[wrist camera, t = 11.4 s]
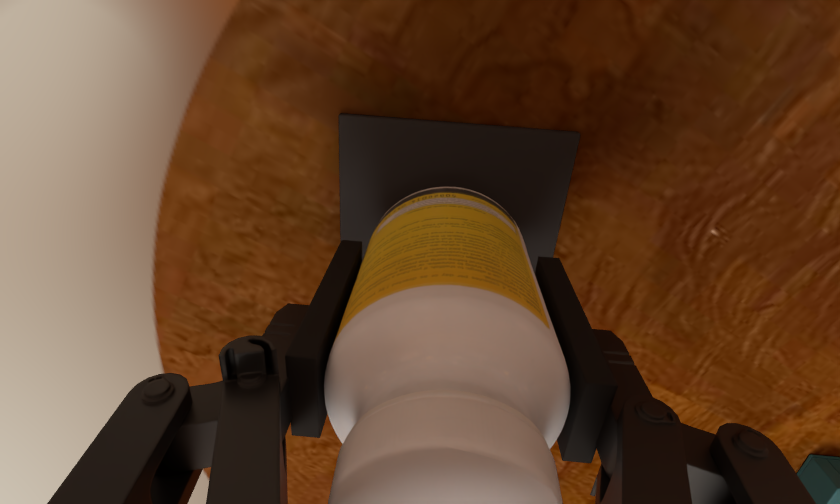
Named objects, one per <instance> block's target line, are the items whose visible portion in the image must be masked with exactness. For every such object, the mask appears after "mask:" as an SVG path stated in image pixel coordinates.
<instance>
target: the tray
mask: <svg viewBox="0 0 840 504" xmlns="http://www.w3.org/2000/svg"><path fill="white" fill-rule="evenodd" d="M797 476H798V477H799V479H800V480H801V482H802V483H803V485H804V486H805V488H806V489H807V491H808V492H809V494H810V495H811V497H812V498H813V500H814V501H815V503H816V504H840V457H833V456H822V455H811V454H810V455H809V456H808V458H807V459H806V461H805V462H804V464H803V465H802V467H801V468H800V470H799V471H798V473H797Z"/></svg>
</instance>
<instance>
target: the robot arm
mask: <svg viewBox="0 0 840 504" xmlns="http://www.w3.org/2000/svg"><path fill="white" fill-rule="evenodd" d="M361 264H362V241H350V240H342V241H341V243H340V245H339V247H338V249H337V251H336V253H335V255H334V257H333V259H332V261H331V263H330V265H329V267H328V269H327V271H326V273H325V275H324V277H323V279H322V281H321V283H320V285H319V287H318V289H317V291H316V293H315V295H314V297H313V299H312V302H311V304H310V305H299V304H287V305H286V306H284V307H283V308H282V309H280V310H279V311H277V312H276V314H275V315H274V317H273V319H272V320H271V322H270V325H268V327H267V329H266V331H265V334H263V336H246V337H241V338H238V339H236V340H234V341H231V342H229V343H228V344H227V345H226V346H225V347H223V348H222V350H221V352H220V354H219V360H220V366H221V372H222V378H223V381H220V382H216V383H212V384H205V385H198V386H191V387H189V384H188V381H187V379H186V378H185V377H183V376H182V375H179V374H174V373H166V374H158V375H156V376H152V377H149V378H147V379H145V380H143V381H142V382H140V383H138V384H137V385H136V386H135V387H134V388H133V389H132V390H131V391H130V392H129V393H128V394H127V396H126V397H125V398H124V400H123V401H122V402H121V404H120V405H119V407H118V408H117V410H116V411H115V412H114V414H113V415H112V416H111V417H110V419H109V420H108V422H107V423H106V424H105V426H104V427H103V428H102V430H101V431H100V432H99V434H98V435H97V437H96V438H95V439H94V441H93V442H92V444H91V445H90V446H89V448H88V449H87V450H86V452H85V453H84V454H83V456H82V457H81V458H80V460H79V461H78V463H77V464H76V465H75V467H74V468H73V469H72V471H71V472H70V473H69V475H68V476H67V478H66V479H65V480H64V482H63V483H62V484H61V486H60V487H59V488H58V490H57V491H56V493H55V494H54V495H53V497H52V498H51V499H50V501H49V502H48V503H47V504H187V503H188V501H189V499H190V497H191V494H192V492H193V490H194V487H195V485H196V483H197V481H198V479H199V476H200V474H201V472H202V469H203V468H207V467H211V473H210V480H209V488H208V494H207V502H206V504H288V501H287V460H286V439H285V435H286V432H287V430H288V427H289V425H290V422H291V431H292V435H296V436H307V437H317V438H320V436H321V432H322V429H323V426H324V423H325V419H326V416H327V409H326V405H325V397H324V378H325V371H326V366H327V362H328V357H329V354H330V351H331V348H332V345H333V343H334V340H335V338H336V335H337V332H338V329H339V326H340V323H341V320H342V317H343V314H344V312H345V309H346V306H347V303H348V300H349V297H350V295H351V292H352V289H353V286H354V283H355V281H356V278H357V275H358V272H359V269H360V267H361ZM535 277H536V279H537V282H538V285H539V288H540V291H541V294H542V296H543V299H544V302H545V305H546V308H547V311H548V314H549V316H550V319H551V322H552V325H553V328H554V330H555V333H556V336H557V339H558V342H559V344H560V347H561V350H562V353H563V355H564V358H565V361H566V365H567V368H568V372H569V379H570V386H571V387H570V406H569V410H568V415H567V418H566V421H565V424H564V426H563V429H562V431H561V433H560V435H559V436H558V438H557V441H558V445H559V449H560V453H561V456H562V460H563V461H573V462H583V463H591V462H592V459H593V457H594V454H595V451H596V448H597V451H598V454H599V456H600V459H601V462H602V464H601V466H600V469H599V472H598V475H597V477H596V480H595V483H594V486H593V488H592V491H591V494H590V495H592V496H595V494H596V503H595V504H816V503H815V501H814V500H813V498H812V497H811V495H810V494H809V492H808V491H807V489H806V488H805V486H804V485H803V483H802V482H801V480H800V479H799V477H798V476H797V474H796V473H795V471H794V470H793V468H792V467H791V465H790V464H789V462H788V461H787V459H786V458H785V456H784V455H783V453H782V452H781V450H780V449H779V448H778V447H777V446H776V445H775V444H774V443H773V441H771V440H770V439H769V438H767V437H766V436H765V435H763V434H762V433H760V432H758V431H756V430H754V429H752V428H750V427H748V426H744V425H740V424H737V423H726V424H724V425H722V426H720V427H719V429H718V431H717V433H716V435H715V434H712V433H709V432H706V431H703V430H700V429H697V428H694V427H691V426H688V425H686V424H683V423H681V422H680V420H679V418H678V415H677V414H676V413H675V412H674V411H673V410H672V409H671V408H670V407H669V406H667V405H666V404H665V403H663V402H662V401H660V400H657V399H655V398H653V397H652V395H651V393H650V391H649V389H648V387H647V386H646V384H645V382H644V380H643V378H642V376H641V375H640V373H639V371H638V369H637V367H636V365H634V362H633V360H632V358H631V356H629V352H628V351H627V349H626V347H625V345H624V343H623V341H621V340H620V339H619V338H618V337H617V336H616V335H615V334H614V333H612V332H611V331H608V330H597V329H592V328H591V326H590V324H589V322H588V319H587V317H586V315H585V313H584V311H583V309H582V307H581V304H580V302H579V300H578V298H577V296H576V294H575V291H574V289H573V287H572V285H571V283H570V281H569V279H568V276H567V274H566V272H565V270H564V268H563V266H562V263H561V261H560V259H559V258H552V257H540V256H538V260H537V265H536V270H535Z"/></svg>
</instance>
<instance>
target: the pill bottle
mask: <svg viewBox="0 0 840 504" xmlns="http://www.w3.org/2000/svg"><path fill="white" fill-rule="evenodd" d="M570 387H571V386H570V379H569V372H568V368H567V365H566V361H565V358H564V355H563V353H562V350H561V347H560V344H559V342H558V339H557V336H556V333H555V330H554V328H553V325H552V322H551V319H550V316H549V314H548V311H547V308H546V305H545V302H544V299H543V296H542V294H541V291H540V288H539V285H538V282H537V279H536V277H535V274H534V271H533V268H532V265H531V262H530V259H529V256H528V253H527V249H526V246H525V243H524V240H523V237H522V235H521V232H520V230H519V228H518V226H517V225H516V223H515V221H514V220H513V219H512V217H511V216H510V215H509V214H508V213H507V211H506V210H505V209H503V208H502V207H501V206H500V205H499V204H498V203H496V202H495V201H493V200H492V199H490V198H489V197H487V196H485V195H483V194H481V193H478V192H475V191H472V190H469V189H464V188H459V187H435V188H429V189H425V190H422V191H418V192H416V193H413V194H411V195H409V196H407V197H405V198H404V199H402V200H400V201H399V202H398V203H396V204H395V205H394V206H392V207H391V208H390V209H389V210H388V211H387V212H386V213H385V215H384V216H383V217H382V218H381V220H380V221H379V223H378V224H377V226H376V228H375V230H374V232H373V234H372V237H371V239H370V241H369V244H368V247H367V250H366V253H365V256H364V258H363V261H362V264H361V267H360V269H359V272H358V275H357V278H356V281H355V283H354V286H353V289H352V292H351V295H350V297H349V300H348V303H347V306H346V309H345V312H344V314H343V317H342V320H341V323H340V326H339V329H338V332H337V335H336V338H335V340H334V343H333V345H332V348H331V351H330V354H329V357H328V362H327V366H326V371H325V378H324V397H325V405H326V409H327V413H328V416H329V419H330V422H331V424H332V426H333V428H334V430H335V432H336V434H337V436H338V438H339V439H340V441H341V442H342V444H343V445H342V446H341V449H340V452H339V455H338V460H337V464H336V469H335V473H334V478H333V483H332V487H331V492H330V496H329V501H328V504H563V502H562V497H561V492H560V487H559V481H558V475H557V469H556V465H555V461H554V458H553V455H552V453H551V451H550V448H551V447H552V446H553V444H554V443H555V441H556V440H557V438H558V436H559V435H560V433H561V431H562V429H563V426H564V424H565V421H566V418H567V415H568V410H569V406H570Z"/></svg>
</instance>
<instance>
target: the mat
mask: <svg viewBox="0 0 840 504" xmlns="http://www.w3.org/2000/svg"><path fill="white" fill-rule="evenodd" d="M579 139H580V133H579V132H573V131H560V130H547V129H535V128H522V127H509V126H497V125H484V124H471V123H458V122H446V121H433V120H420V119H407V118H395V117H382V116H369V115H357V114H344V113H341V114H339V171H340V235H341V241H342V240H350V241H362V261H363V258H364V256H365V253H366V250H367V247H368V244H369V241H370V239H371V237H372V234H373V232H374V230H375V228H376V226H377V224H378V223H379V221H380V220H381V218H382V217H383V216H384V215H385V213H386V212H387V211H388V210H389V209H390V208H391V207H392V206H394V205H395V204H396V203H398V202H399V201H400V200H402V199H404V198H405V197H407V196H409V195H411V194H413V193H416V192H418V191H422V190H425V189H429V188H435V187H459V188H464V189H469V190H472V191H475V192H478V193H481V194H483V195H485V196H487V197H489V198H490V199H492V200H493V201H495V202H496V203H498V204H499V205H500V206H501V207H502V208H503V209H505V210H506V211H507V213H508V214H509V215H510V216H511V217H512V219H513V220H514V221H515V223H516V225H517V226H518V228H519V230H520V232H521V235H522V237H523V240H524V243H525V246H526V249H527V253H528V256H529V259H530V262H531V265H532V268H533V271H534V274H535V270H536V265H537V260H538V256H540V257H552V258H553V255H554V250H555V246H556V241H557V237H558V232H559V228H560V223H561V219H562V215H563V210H564V206H565V201H566V197H567V192H568V188H569V183H570V179H571V174H572V170H573V166H574V161H575V157H576V152H577V148H578V143H579Z"/></svg>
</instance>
